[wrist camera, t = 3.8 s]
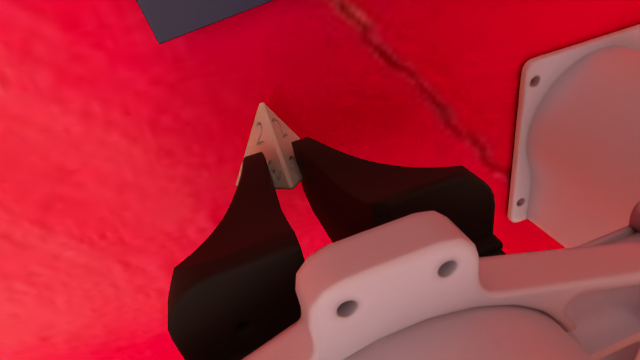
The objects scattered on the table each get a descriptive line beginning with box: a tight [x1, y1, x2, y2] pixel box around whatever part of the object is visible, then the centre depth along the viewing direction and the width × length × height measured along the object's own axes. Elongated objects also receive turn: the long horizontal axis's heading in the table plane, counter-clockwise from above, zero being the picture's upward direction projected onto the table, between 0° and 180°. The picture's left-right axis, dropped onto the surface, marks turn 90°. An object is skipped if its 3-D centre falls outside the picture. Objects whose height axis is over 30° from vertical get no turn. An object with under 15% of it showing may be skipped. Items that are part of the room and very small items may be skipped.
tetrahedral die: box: [236, 102, 303, 190], centre depth 14 cm, size 4×3×3 cm
